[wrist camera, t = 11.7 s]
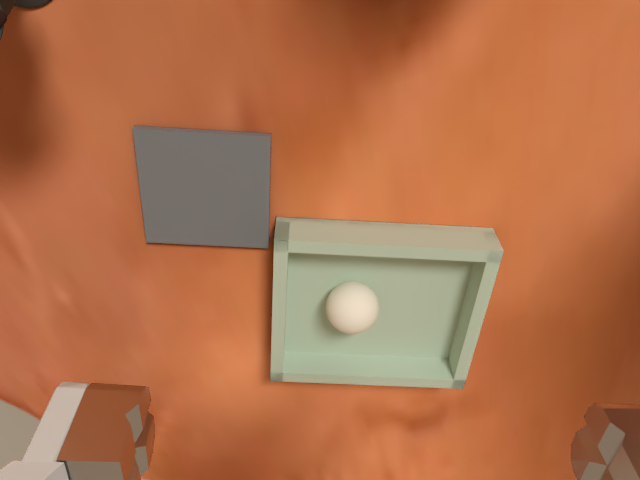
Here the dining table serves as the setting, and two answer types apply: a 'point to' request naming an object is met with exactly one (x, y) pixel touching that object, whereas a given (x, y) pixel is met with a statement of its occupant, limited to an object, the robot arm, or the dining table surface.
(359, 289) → the ball
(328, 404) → the dining table surface
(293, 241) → the tray
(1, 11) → the sundae
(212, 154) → the coaster
